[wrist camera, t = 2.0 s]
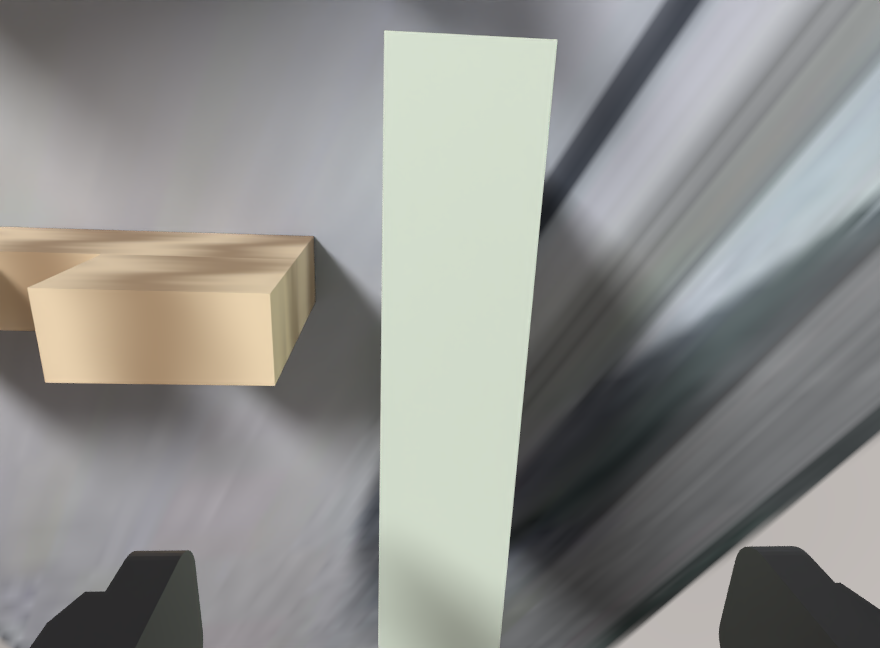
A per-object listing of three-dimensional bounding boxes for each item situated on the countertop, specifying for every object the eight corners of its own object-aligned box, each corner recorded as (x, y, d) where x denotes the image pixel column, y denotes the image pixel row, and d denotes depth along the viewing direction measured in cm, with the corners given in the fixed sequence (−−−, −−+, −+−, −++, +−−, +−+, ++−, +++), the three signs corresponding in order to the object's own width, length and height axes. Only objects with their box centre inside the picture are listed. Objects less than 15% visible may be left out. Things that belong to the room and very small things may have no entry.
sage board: (469, 83, 25) (557, 39, 10) (451, 429, 30) (492, 713, 16) (396, 80, 24) (384, 30, 10) (390, 429, 30) (377, 716, 15)
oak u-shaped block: (313, 236, 26) (270, 293, 18) (315, 301, 27) (274, 385, 19) (-122, 223, 25) (-391, 278, 17) (-103, 292, 26) (-349, 377, 18)
